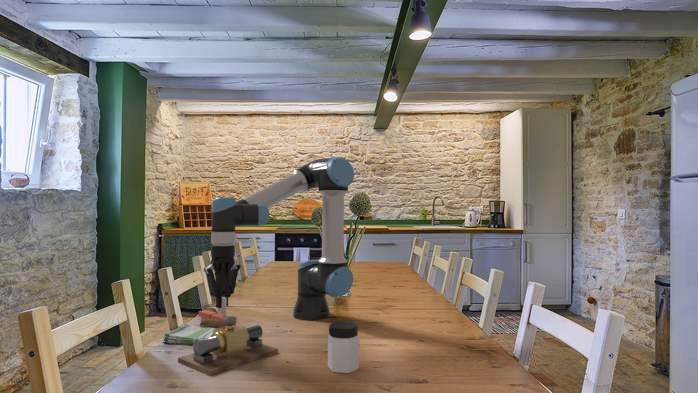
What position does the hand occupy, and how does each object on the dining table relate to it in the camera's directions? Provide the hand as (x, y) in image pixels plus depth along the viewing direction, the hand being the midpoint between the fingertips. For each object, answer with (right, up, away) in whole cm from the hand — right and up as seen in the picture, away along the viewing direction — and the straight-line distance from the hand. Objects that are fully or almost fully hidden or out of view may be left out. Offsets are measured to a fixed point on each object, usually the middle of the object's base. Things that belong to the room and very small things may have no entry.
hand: (221, 317), depth 142 cm
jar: (+40, -9, -19) cm, 45 cm away
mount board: (+6, -9, -11) cm, 15 cm away
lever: (+1, +1, -7) cm, 7 cm away
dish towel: (-8, -10, +9) cm, 15 cm away
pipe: (-8, -10, +23) cm, 26 cm away
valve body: (+6, -8, -11) cm, 14 cm away
